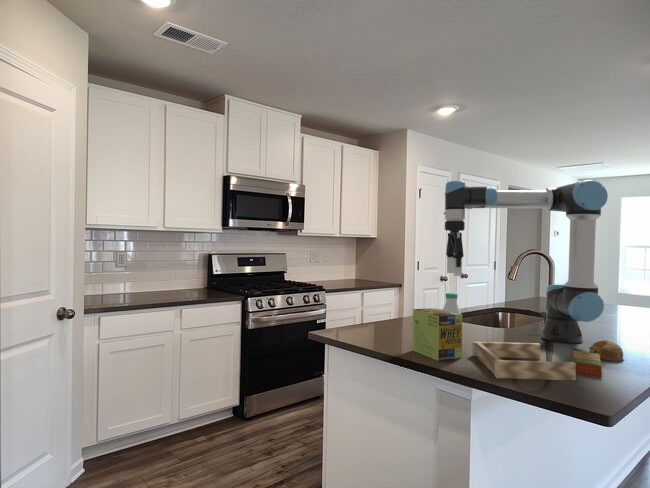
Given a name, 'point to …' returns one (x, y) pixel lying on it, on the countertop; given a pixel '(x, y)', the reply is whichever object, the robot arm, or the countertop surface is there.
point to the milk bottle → (451, 303)
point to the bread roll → (607, 350)
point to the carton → (587, 363)
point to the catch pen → (521, 369)
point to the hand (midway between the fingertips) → (454, 274)
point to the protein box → (437, 333)
